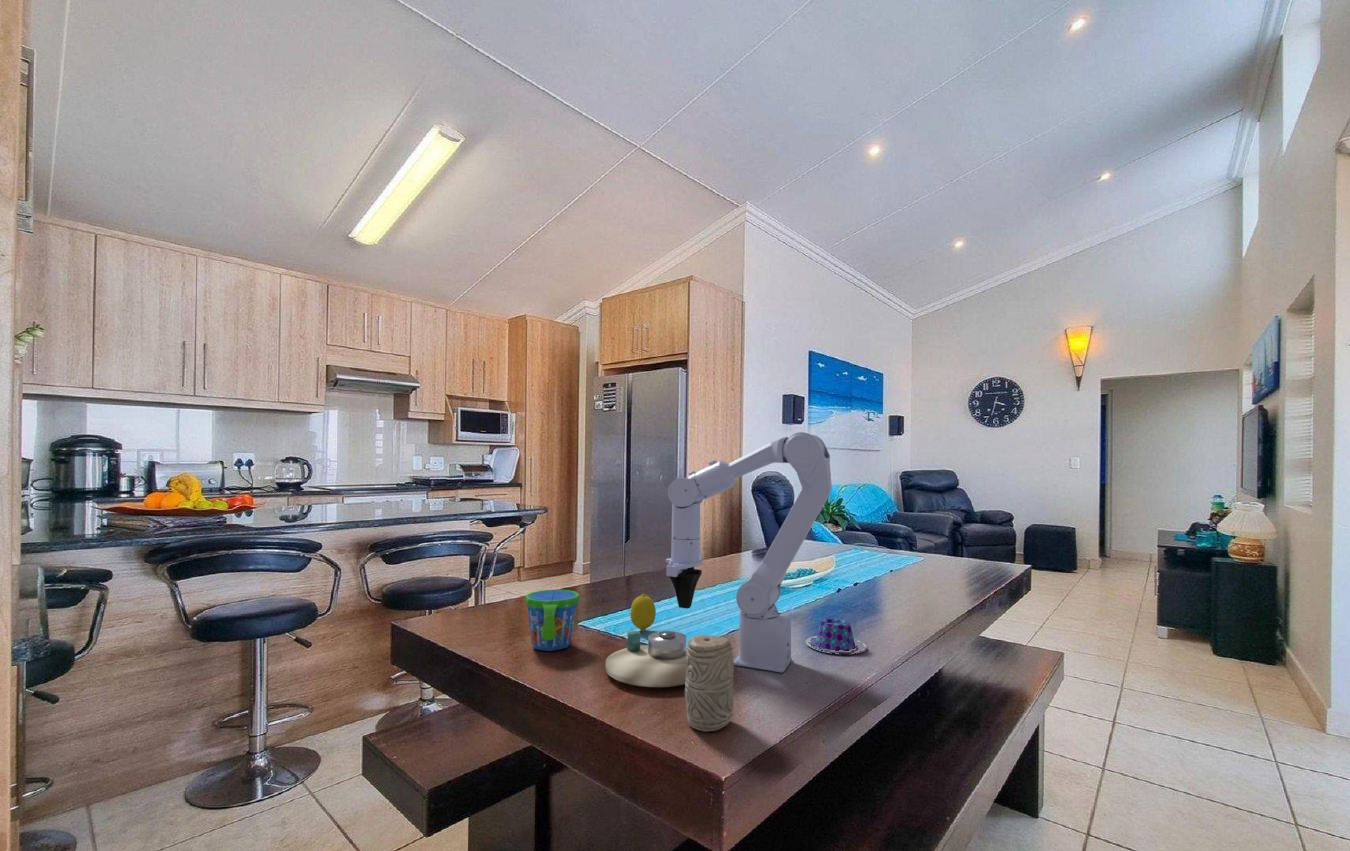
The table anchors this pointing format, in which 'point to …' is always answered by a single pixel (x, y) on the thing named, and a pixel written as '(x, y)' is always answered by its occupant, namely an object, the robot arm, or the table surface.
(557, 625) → the snack cup
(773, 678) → the table surface
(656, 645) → the cover
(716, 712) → the carving
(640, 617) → the lemon
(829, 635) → the polka dot fedora
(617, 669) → the turntable
